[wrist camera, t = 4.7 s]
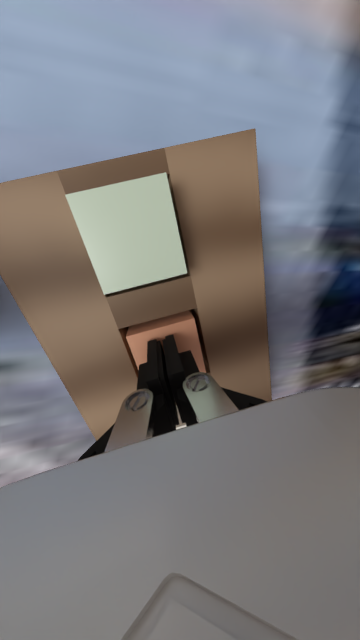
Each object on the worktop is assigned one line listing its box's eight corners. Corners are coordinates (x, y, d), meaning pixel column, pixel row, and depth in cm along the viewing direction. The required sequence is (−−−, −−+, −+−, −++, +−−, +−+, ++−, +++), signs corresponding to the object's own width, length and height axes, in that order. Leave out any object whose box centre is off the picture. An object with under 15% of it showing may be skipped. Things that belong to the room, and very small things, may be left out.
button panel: (16, 212, 12) (-48, 193, 8) (224, 166, 12) (255, 128, 9) (125, 435, 19) (119, 479, 15) (250, 397, 20) (273, 430, 16)
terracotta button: (130, 319, 14) (125, 336, 11) (185, 305, 14) (194, 318, 11) (147, 366, 15) (146, 391, 12) (196, 352, 15) (206, 374, 12)
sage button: (88, 211, 10) (64, 194, 7) (162, 194, 10) (166, 172, 8) (115, 285, 12) (103, 294, 9) (178, 268, 12) (187, 273, 9)
